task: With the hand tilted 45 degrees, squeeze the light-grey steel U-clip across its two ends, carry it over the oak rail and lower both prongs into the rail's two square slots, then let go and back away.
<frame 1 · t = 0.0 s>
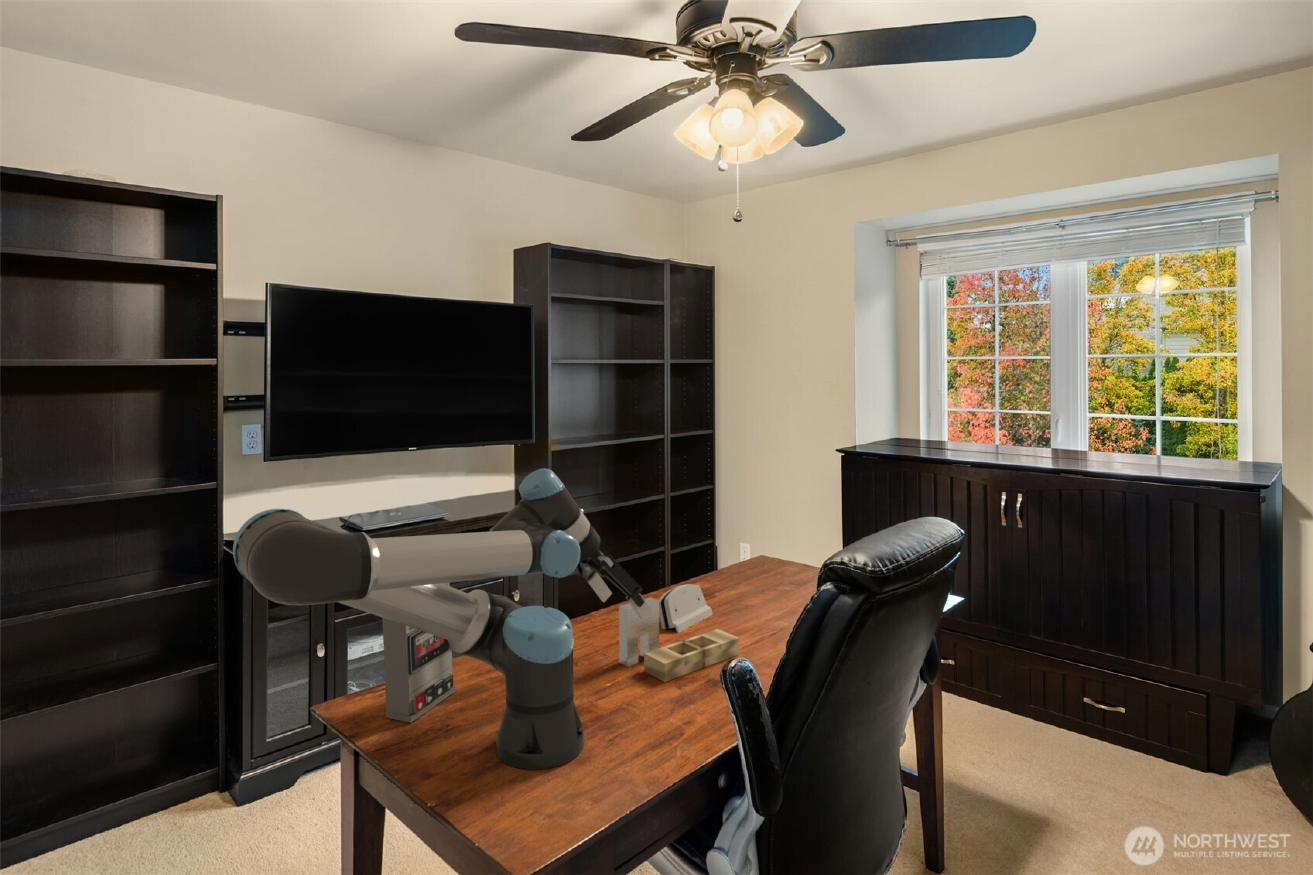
hand: (626, 605, 154), 15 cm above the table, tool tilted 35°, fingers open, 13 cm apart
rail: (692, 662, 162), on the table
cassette tape recorder: (422, 706, 143), on the table
clip: (639, 659, 164), on the table
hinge: (683, 621, 188), on the table
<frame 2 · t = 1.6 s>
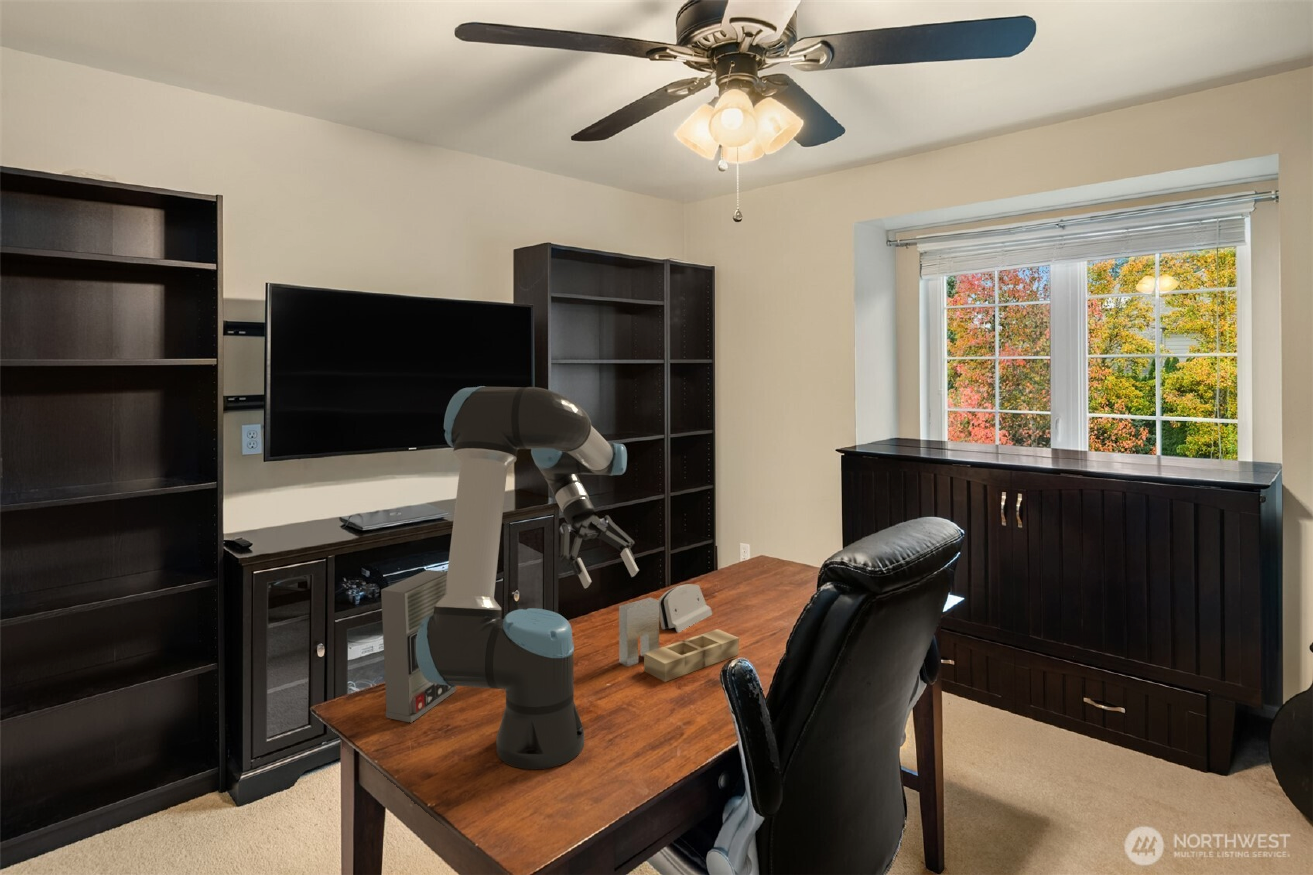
hand: (612, 579, 170), 16 cm above the table, tool tilted 45°, fingers open, 13 cm apart
nothing on the table moved.
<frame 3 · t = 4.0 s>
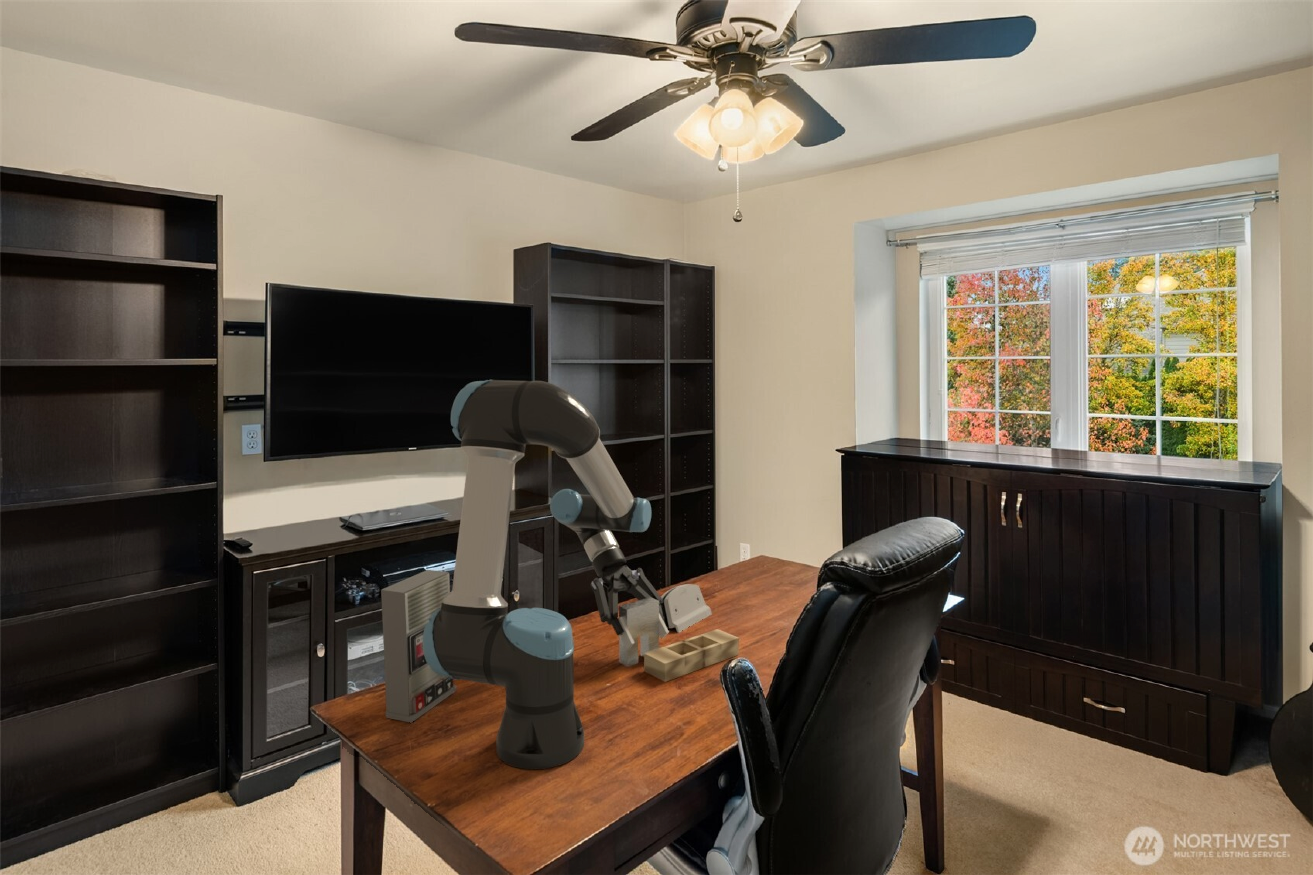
hand: (648, 640, 161), 5 cm above the table, tool tilted 45°, fingers closed on clip, 9 cm apart
clip: (639, 659, 164), on the table, touching gripper
everything else where it was.
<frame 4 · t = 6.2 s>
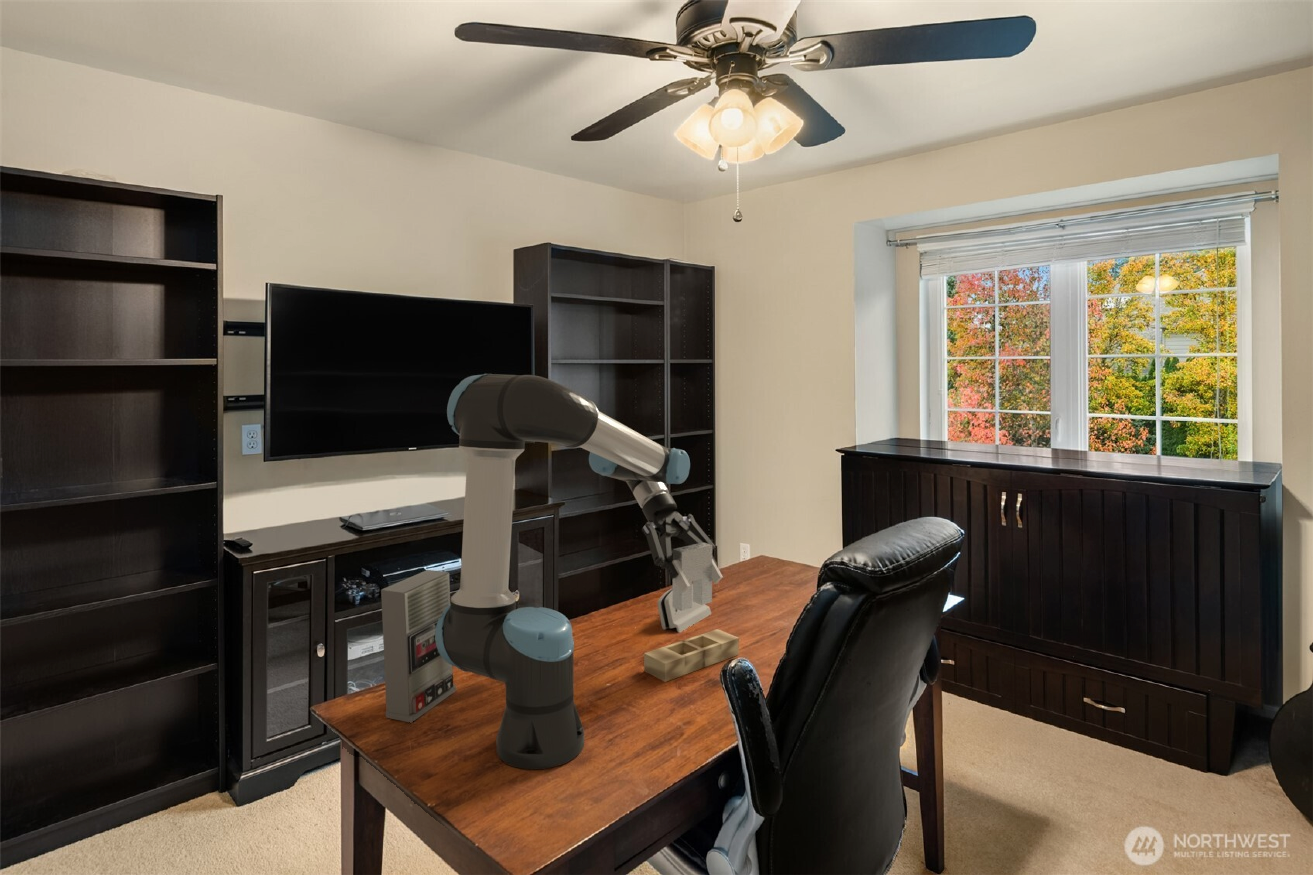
hand: (702, 584, 158), 19 cm above the table, tool tilted 45°, fingers closed on clip, 9 cm apart
clip: (692, 604, 161), point 13 cm above the table, touching gripper
everything else where it was.
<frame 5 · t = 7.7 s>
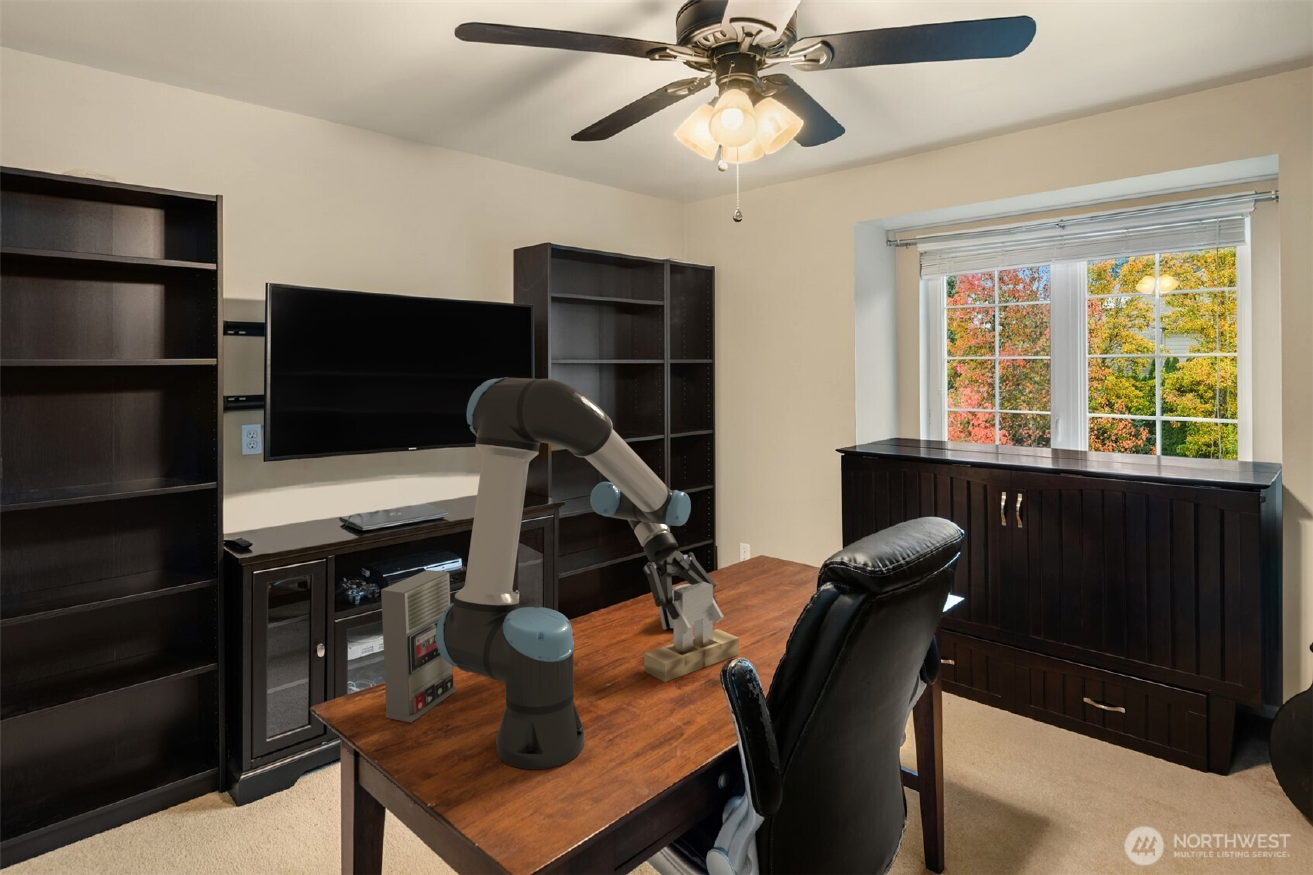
hand: (703, 625, 159), 9 cm above the table, tool tilted 45°, fingers closed on clip, 9 cm apart
clip: (693, 644, 162), point 4 cm above the table, touching gripper
everything else where it was.
when the fingers open (7 cm above the table, at t = 8.7 s): clip drops 2 cm, resting in rail.
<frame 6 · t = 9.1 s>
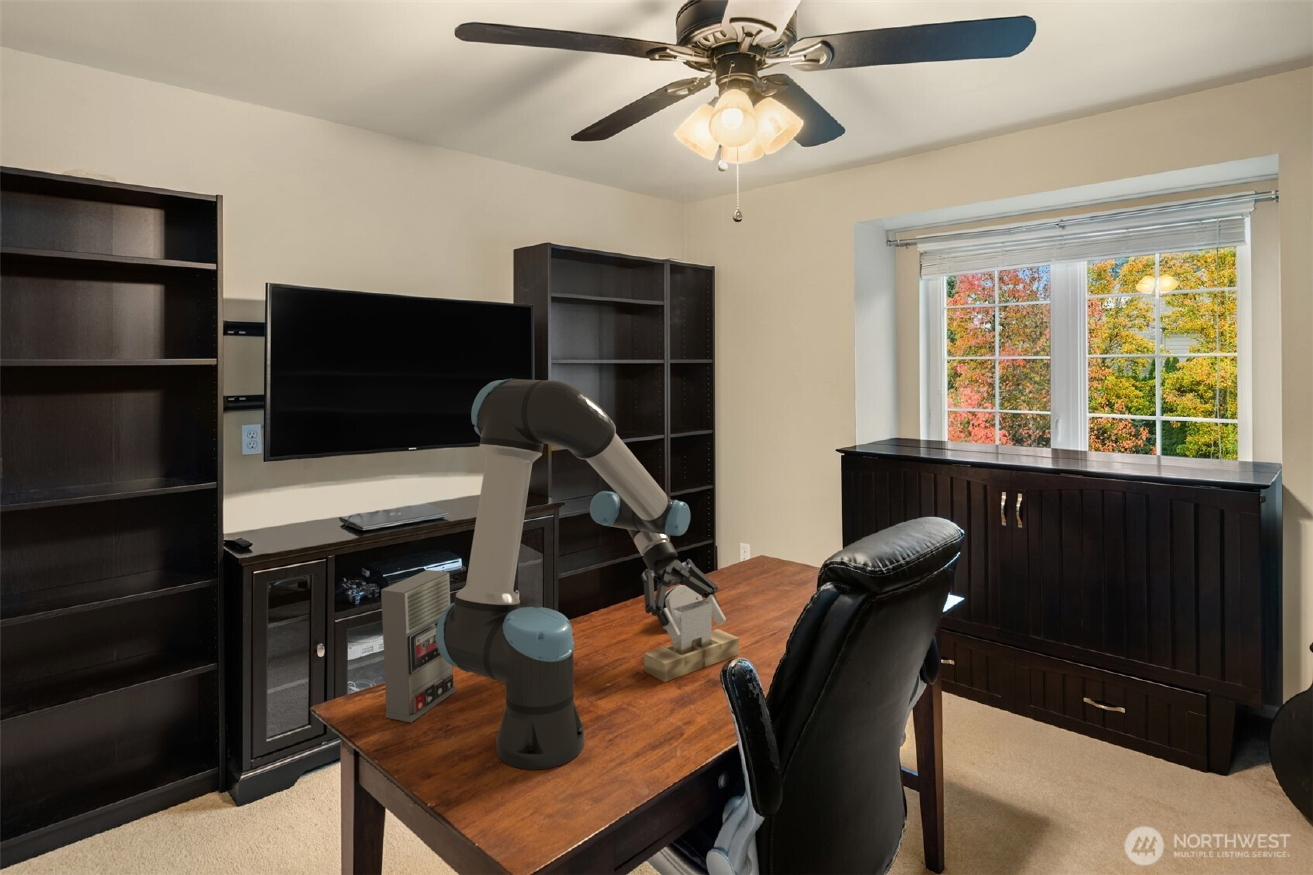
hand: (700, 630, 159), 8 cm above the table, tool tilted 45°, fingers open, 13 cm apart
clip: (692, 662, 162), resting in rail
everything else where it was.
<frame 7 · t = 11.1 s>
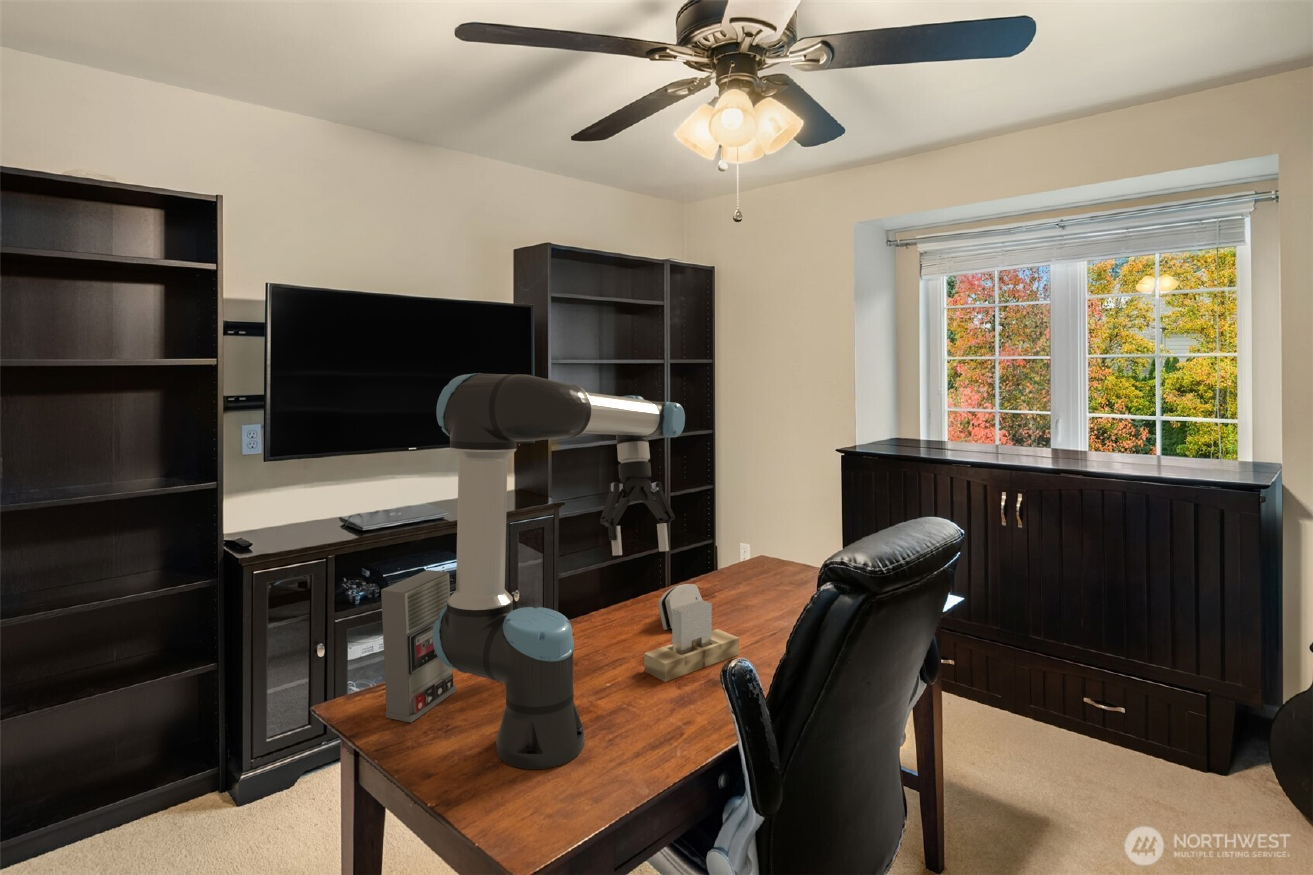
hand: (641, 553, 168), 23 cm above the table, tool tilted 15°, fingers open, 13 cm apart
nothing on the table moved.
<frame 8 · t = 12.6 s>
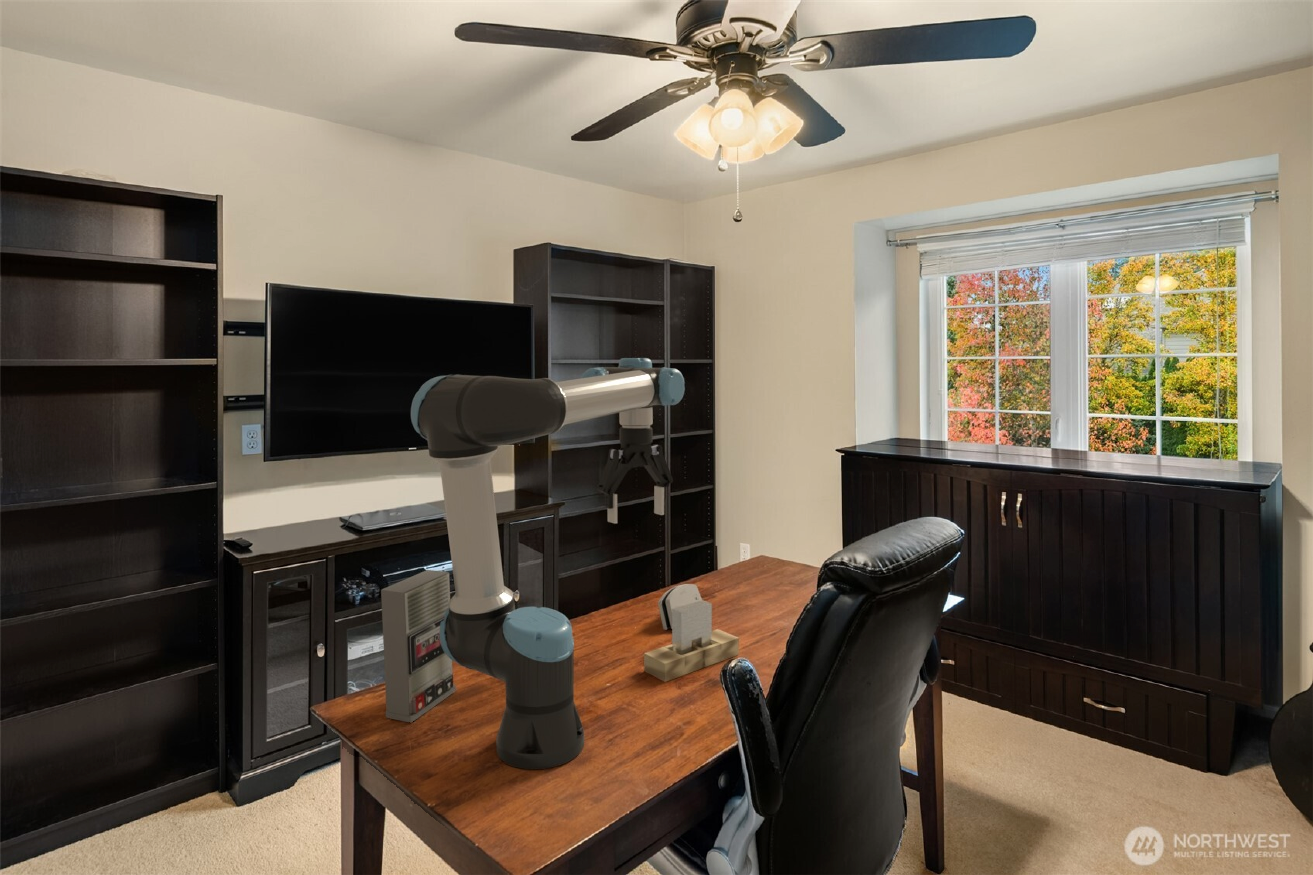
hand: (636, 518, 168), 31 cm above the table, tool pointing down, fingers open, 13 cm apart
nothing on the table moved.
at the end: clip 0.1 cm off-centre on the rail, point 0.0 cm above the rail's base; clip tilted 0°; the gripper is holding nothing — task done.
